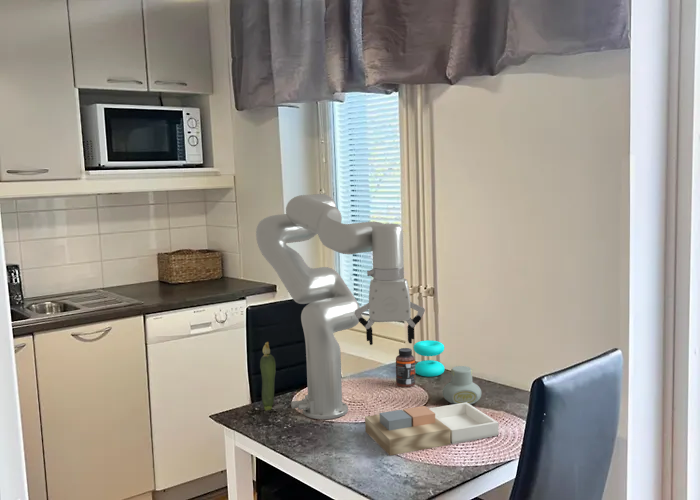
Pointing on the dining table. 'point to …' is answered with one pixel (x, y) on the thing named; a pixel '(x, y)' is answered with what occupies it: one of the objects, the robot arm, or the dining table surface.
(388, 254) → the robot arm
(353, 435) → the dining table surface
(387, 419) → the tile
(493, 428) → the box
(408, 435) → the board
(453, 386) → the air freshener
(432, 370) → the donuts
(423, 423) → the tile
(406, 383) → the supplement bottle
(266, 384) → the vegetable
